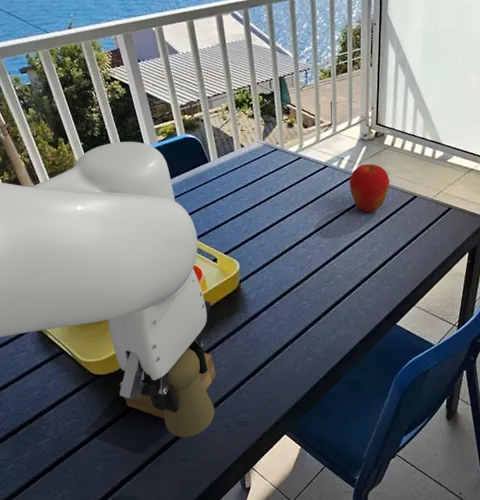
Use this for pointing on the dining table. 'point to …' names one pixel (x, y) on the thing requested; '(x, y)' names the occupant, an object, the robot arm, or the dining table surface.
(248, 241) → the dining table surface
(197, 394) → the olive rounded figure
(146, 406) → the frame
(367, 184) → the apple
